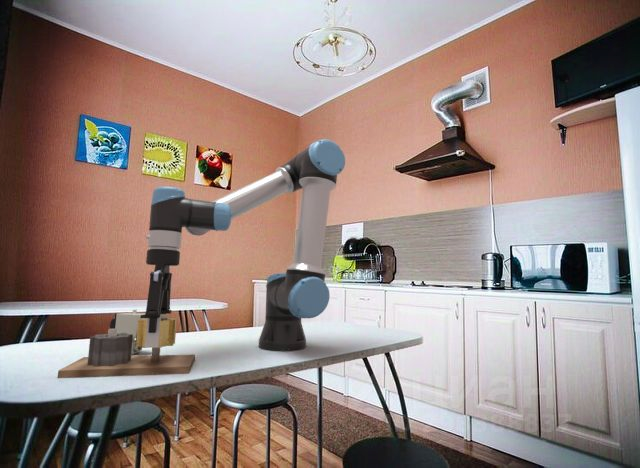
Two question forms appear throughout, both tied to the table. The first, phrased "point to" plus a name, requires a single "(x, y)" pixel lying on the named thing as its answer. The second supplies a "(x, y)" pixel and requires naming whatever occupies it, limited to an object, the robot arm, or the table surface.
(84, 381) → the table surface
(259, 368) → the table surface
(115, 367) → the gear board
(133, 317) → the pneumatic valve
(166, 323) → the brass gear
